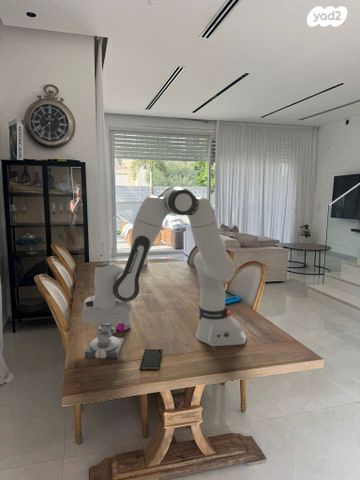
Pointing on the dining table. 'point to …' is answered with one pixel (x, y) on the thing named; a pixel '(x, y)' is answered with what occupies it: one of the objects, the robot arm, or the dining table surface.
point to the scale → (110, 351)
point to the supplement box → (123, 326)
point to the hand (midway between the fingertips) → (106, 331)
